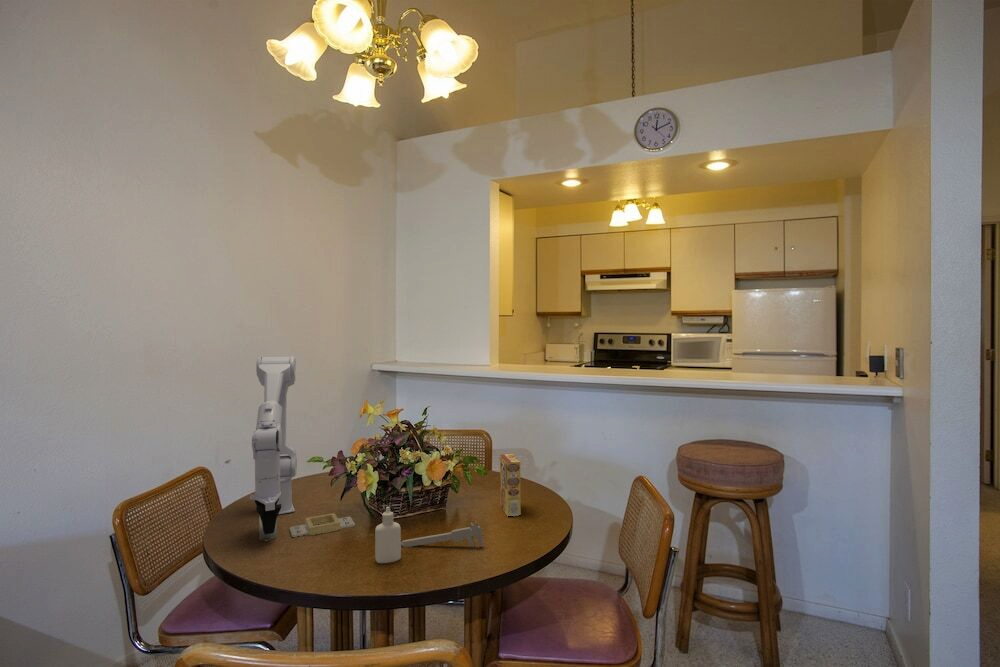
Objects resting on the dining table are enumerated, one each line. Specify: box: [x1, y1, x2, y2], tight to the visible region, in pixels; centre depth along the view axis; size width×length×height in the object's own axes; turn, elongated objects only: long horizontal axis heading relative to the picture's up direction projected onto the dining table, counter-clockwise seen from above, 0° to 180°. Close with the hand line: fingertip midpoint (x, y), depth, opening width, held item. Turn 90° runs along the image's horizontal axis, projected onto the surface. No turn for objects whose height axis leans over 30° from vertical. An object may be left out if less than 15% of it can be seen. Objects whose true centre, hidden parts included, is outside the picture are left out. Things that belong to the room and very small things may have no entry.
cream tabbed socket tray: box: [289, 512, 356, 538], centre depth 136 cm, size 8×16×2 cm, turn 118°
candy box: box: [499, 453, 522, 518], centre depth 148 cm, size 9×4×15 cm, turn 13°
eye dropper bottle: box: [374, 506, 402, 564], centre depth 118 cm, size 4×6×12 cm
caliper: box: [401, 521, 483, 548], centre depth 125 cm, size 20×1×6 cm, turn 88°
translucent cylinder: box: [258, 515, 278, 541], centre depth 130 cm, size 4×4×7 cm
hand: (268, 530), depth 130 cm, fingers closed on translucent cylinder, 4 cm apart
